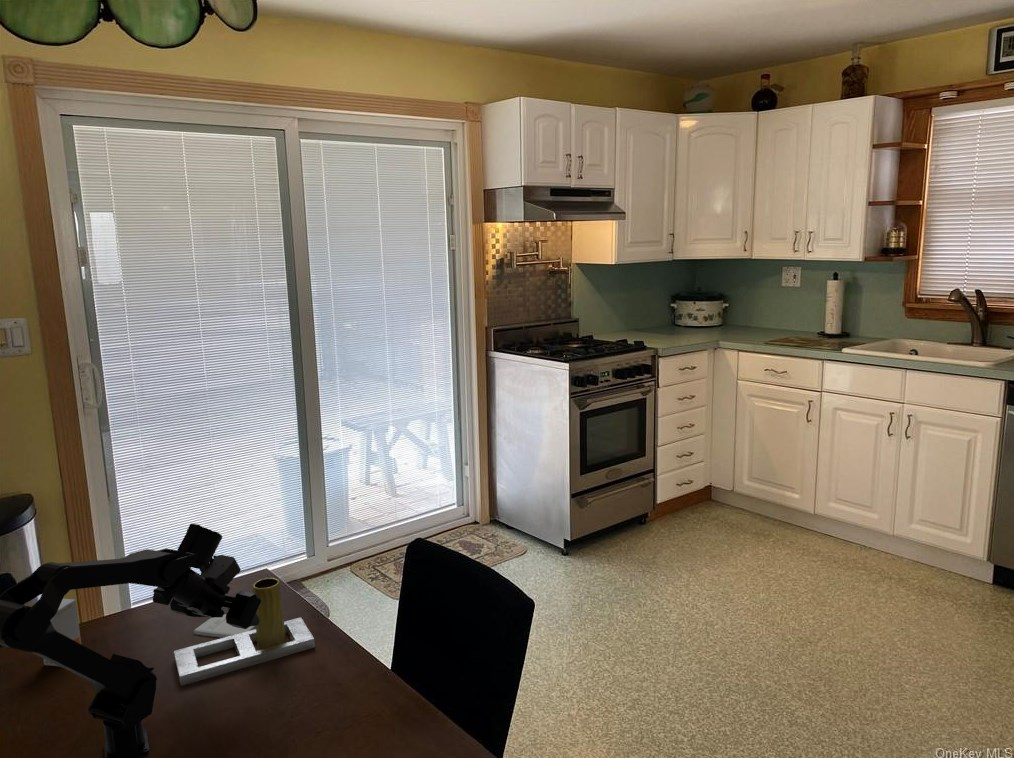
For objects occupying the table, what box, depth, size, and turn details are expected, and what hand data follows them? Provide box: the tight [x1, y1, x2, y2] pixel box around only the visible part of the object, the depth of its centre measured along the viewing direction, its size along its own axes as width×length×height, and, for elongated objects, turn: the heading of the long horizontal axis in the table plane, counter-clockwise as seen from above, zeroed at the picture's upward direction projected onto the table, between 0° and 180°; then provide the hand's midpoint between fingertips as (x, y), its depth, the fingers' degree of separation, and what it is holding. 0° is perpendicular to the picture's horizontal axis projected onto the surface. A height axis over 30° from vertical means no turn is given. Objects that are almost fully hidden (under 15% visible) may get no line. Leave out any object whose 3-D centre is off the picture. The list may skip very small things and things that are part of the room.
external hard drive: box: [193, 613, 256, 639], centre depth 164 cm, size 2×8×12 cm
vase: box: [252, 577, 288, 651], centre depth 154 cm, size 6×6×14 cm
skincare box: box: [42, 598, 82, 667], centre depth 152 cm, size 6×4×12 cm
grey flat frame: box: [173, 616, 316, 687], centre depth 153 cm, size 11×26×2 cm, turn 120°
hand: (240, 618), depth 147 cm, fingers open, 9 cm apart
